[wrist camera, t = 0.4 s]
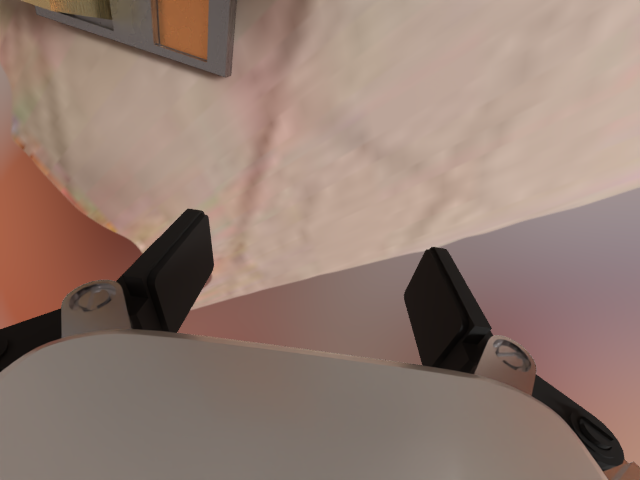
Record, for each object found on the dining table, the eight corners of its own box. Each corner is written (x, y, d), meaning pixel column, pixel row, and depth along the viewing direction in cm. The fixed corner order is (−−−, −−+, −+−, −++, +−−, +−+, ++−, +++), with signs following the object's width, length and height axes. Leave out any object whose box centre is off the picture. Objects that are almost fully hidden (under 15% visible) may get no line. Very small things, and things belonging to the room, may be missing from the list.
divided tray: (30, -82, 30) (8, -92, 28) (237, -5, 33) (230, -9, 31) (54, 16, 35) (36, 14, 33) (231, 75, 38) (225, 77, 36)
